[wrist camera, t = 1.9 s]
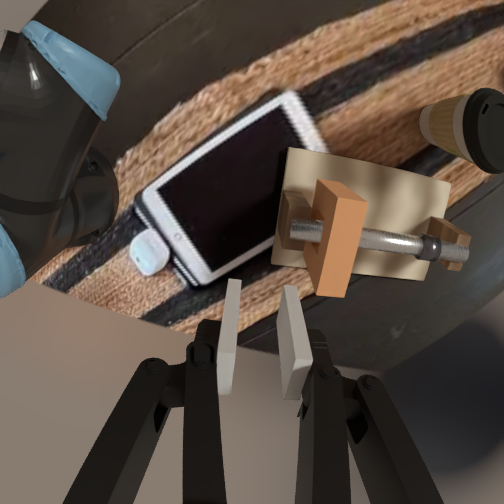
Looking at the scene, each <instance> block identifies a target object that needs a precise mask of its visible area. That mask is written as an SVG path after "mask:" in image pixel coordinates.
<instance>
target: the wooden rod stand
mask: <svg viewBox="0 0 504 504" xmlns="http://www.w3.org/2000/svg"><path fill="white" fill-rule="evenodd" d="M317 179H323V180H329V181H335V182H340V183H342V184H343V185H345V186H346V187H348V188H349V189H350V190H352V191H353V192H355V193H356V194H357V195H359V196H360V197H361V198H363V199H364V200H366V201H367V202H368V206H367V211H366V215H365V220H364V224H363V227H366V228H373V229H379V230H385V231H391V232H397V233H403V234H409V235H414V236H417V235H418V234H420V233H422V234H428V235H433V236H437V237H439V238H440V240H442V241H448V242H453V243H456V244H462V245H466V246H467V247H468V246H469V243H470V240H471V236H470V235H468V234H467V233H465V232H463V231H462V230H460V229H459V228H457V227H456V226H454V225H452V224H451V223H449V222H448V221H446V220H444V219H443V217H444V213H445V209H446V205H447V201H448V197H449V193H450V188H451V184H450V183H448V182H445V181H441V180H438V179H434V178H431V177H427V176H424V175H420V174H416V173H413V172H409V171H405V170H401V169H397V168H393V167H389V166H384V165H380V164H376V163H371V162H367V161H362V160H357V159H353V158H348V157H343V156H337V155H332V154H327V153H321V152H316V151H310V150H304V149H298V148H291V147H288V153H287V159H286V166H285V173H284V180H283V186H282V193H281V200H280V206H279V213H278V219H277V225H276V232H275V238H274V244H273V251H272V257H271V264H276V265H284V266H293V267H302V268H307V266H306V263H305V260H304V257H303V251H304V246H305V241H301V240H293V239H289V233H290V227H291V221H292V217H295V218H302V219H310V215H311V209H312V204H313V198H314V193H315V187H316V181H317ZM438 261H439V262H440V263H441V264H442V265H443V266H444V267H446V268H447V269H448V270H456V271H460V270H461V267H462V264H463V263H461V262H454V261H447V260H441V259H438ZM429 264H430V261H425V260H418V259H416V258H415V256H413V255H406V254H399V253H392V252H384V251H377V250H370V249H362V248H357V252H356V256H355V260H354V264H353V268H352V271H351V273H356V274H366V275H375V276H384V277H394V278H403V279H413V280H423V281H424V278H425V275H426V273H427V270H428V267H429Z"/></svg>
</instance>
